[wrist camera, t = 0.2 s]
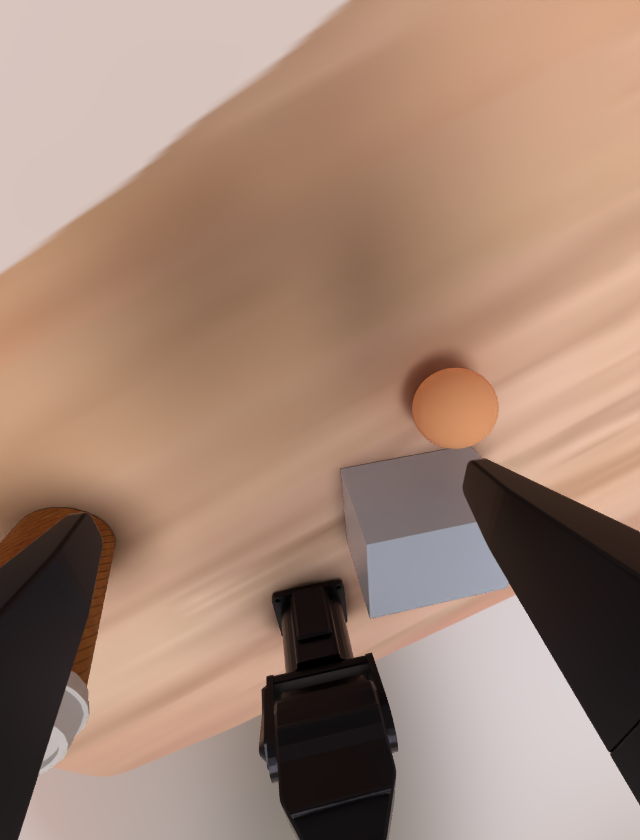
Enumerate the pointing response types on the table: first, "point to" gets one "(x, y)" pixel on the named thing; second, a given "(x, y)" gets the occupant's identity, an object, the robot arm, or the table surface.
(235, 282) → the table surface
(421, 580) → the grey rectangular block
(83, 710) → the disposable coffee cup
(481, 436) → the ball
